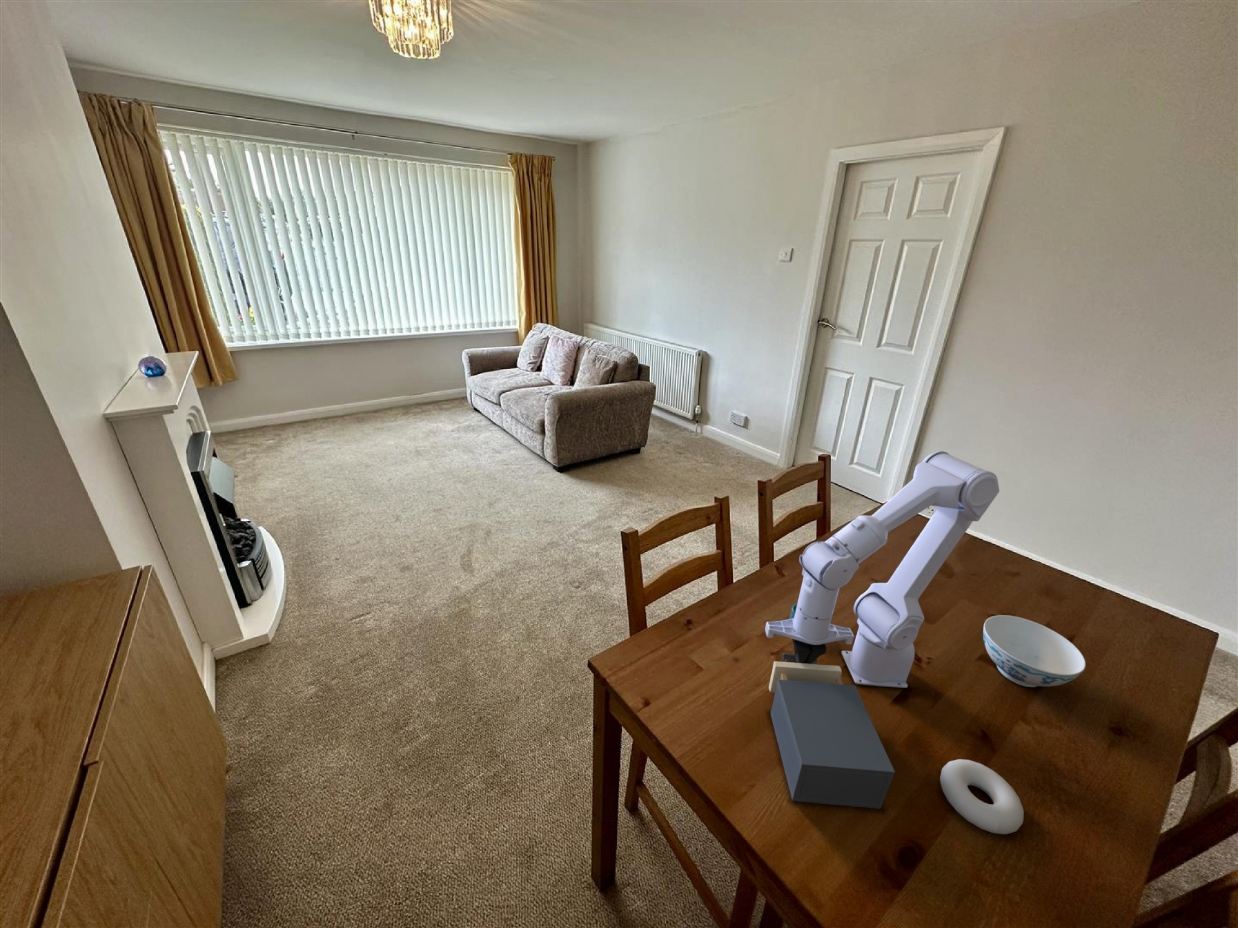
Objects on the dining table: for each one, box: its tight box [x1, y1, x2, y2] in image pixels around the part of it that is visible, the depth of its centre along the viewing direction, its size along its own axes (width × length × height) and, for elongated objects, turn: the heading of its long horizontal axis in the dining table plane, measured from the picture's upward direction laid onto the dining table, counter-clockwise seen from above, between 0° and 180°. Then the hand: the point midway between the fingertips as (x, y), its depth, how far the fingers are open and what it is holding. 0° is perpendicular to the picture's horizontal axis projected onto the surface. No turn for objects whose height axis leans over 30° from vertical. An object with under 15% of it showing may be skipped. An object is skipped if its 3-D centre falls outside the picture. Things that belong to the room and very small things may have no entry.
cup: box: [788, 602, 798, 619], centre depth 102 cm, size 5×5×4 cm
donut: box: [939, 758, 1025, 835], centre depth 70 cm, size 10×4×10 cm
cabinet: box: [770, 680, 896, 810], centre depth 75 cm, size 15×13×8 cm
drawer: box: [768, 652, 844, 694], centre depth 82 cm, size 18×11×6 cm, turn 176°
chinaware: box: [982, 614, 1087, 688], centre depth 92 cm, size 15×15×8 cm
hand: (799, 668), depth 87 cm, fingers closed, pressing on drawer
